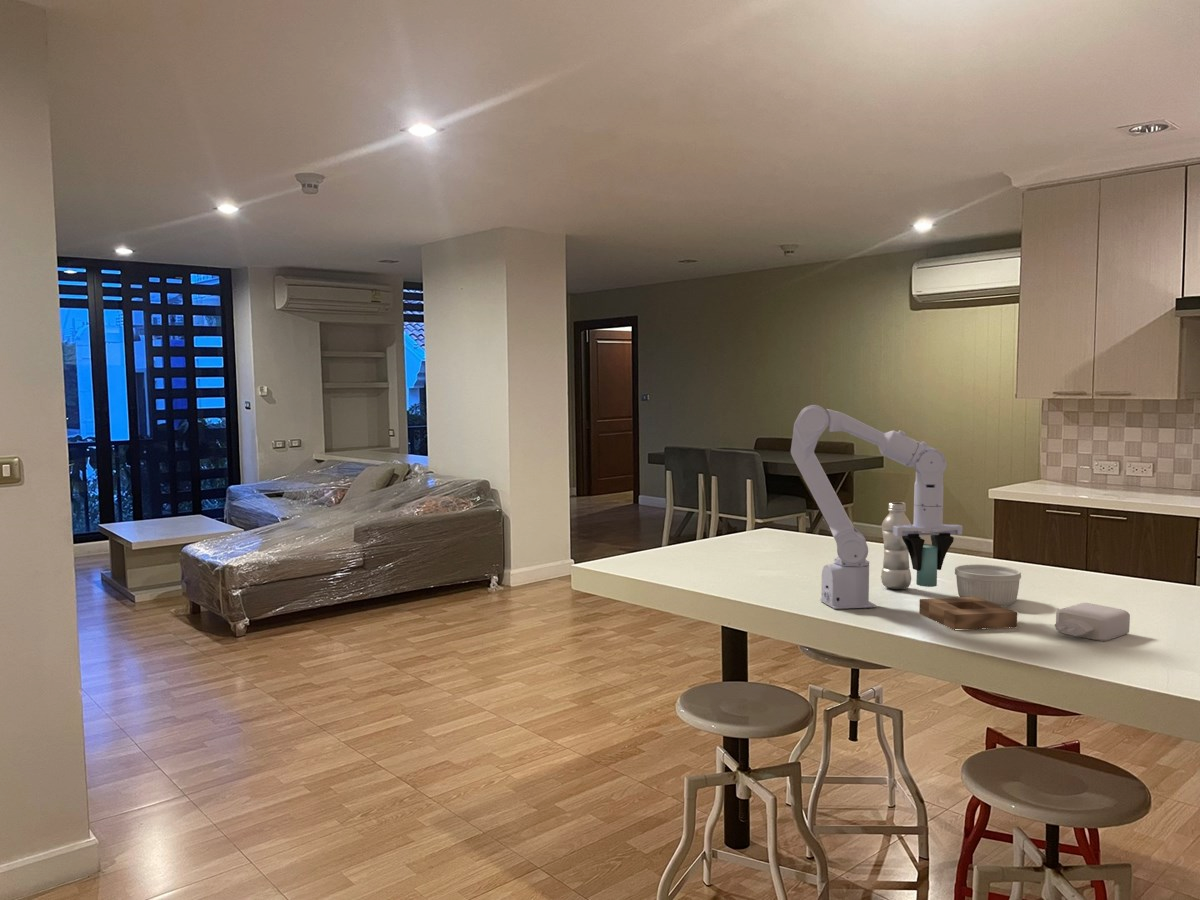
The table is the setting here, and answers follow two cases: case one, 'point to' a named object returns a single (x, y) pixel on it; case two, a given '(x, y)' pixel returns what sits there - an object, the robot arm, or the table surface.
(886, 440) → the robot arm
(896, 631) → the table surface
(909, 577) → the plastic bottle
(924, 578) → the peg
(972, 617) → the socket
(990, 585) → the ramekin
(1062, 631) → the charger
